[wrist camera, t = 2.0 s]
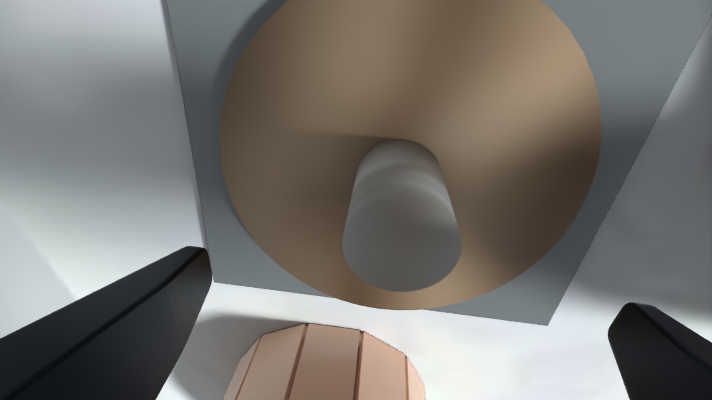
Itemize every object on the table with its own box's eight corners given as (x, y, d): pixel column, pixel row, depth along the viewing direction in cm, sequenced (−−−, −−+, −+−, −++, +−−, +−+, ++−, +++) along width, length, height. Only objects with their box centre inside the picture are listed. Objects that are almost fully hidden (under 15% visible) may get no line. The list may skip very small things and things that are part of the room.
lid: (669, -19, 9) (893, -40, 5) (518, 313, 16) (563, 423, 12) (206, -60, 10) (70, -109, 6) (243, 277, 16) (192, 370, 12)
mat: (725, -35, 9) (738, -36, 9) (544, 319, 16) (547, 325, 16) (160, -83, 10) (152, -86, 10) (217, 276, 17) (213, 282, 17)
